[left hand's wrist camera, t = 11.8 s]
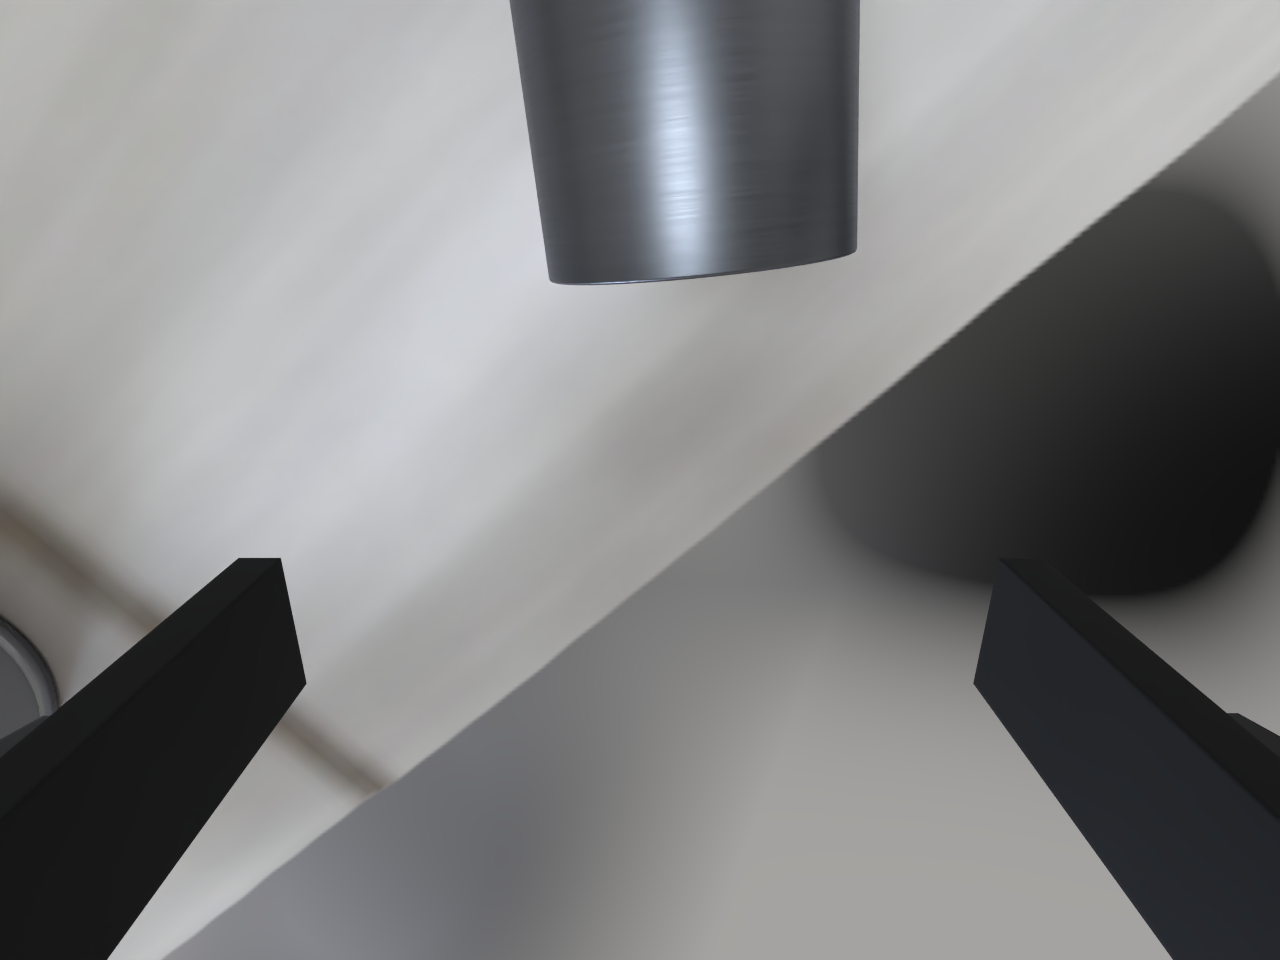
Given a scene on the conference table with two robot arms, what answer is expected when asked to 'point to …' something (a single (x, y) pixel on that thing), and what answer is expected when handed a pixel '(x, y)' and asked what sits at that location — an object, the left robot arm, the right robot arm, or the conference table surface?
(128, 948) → the conference table surface
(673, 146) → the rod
